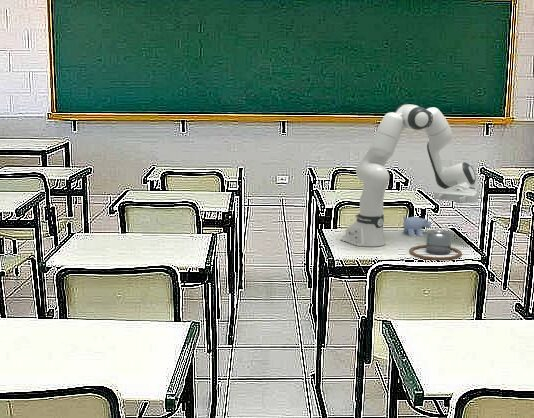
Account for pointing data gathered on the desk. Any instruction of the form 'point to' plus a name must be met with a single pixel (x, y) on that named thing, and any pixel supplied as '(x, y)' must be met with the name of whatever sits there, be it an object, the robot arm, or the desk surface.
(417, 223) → the hippopotamus toy
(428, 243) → the metal cover
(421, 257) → the locating ring
